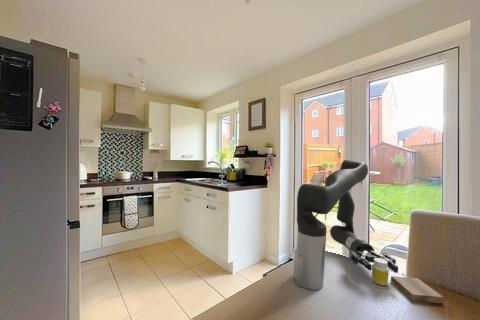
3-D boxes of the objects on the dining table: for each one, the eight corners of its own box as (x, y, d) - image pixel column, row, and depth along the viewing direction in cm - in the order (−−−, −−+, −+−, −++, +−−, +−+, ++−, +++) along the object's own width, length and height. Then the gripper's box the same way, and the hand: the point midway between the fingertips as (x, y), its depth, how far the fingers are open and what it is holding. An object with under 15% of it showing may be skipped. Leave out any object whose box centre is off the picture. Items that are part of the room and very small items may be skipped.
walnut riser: (412, 300, 65) (412, 294, 65) (390, 281, 75) (391, 276, 75) (442, 303, 65) (443, 297, 65) (417, 283, 75) (417, 278, 75)
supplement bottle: (390, 290, 70) (391, 265, 70) (374, 287, 71) (376, 262, 71) (383, 281, 75) (385, 258, 75) (368, 279, 76) (370, 256, 76)
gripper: (342, 237, 87) (362, 256, 71) (377, 240, 87) (406, 259, 70) (340, 255, 88) (361, 278, 71) (376, 258, 87) (405, 281, 71)
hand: (383, 268), depth 71 cm, fingers open, 8 cm apart
